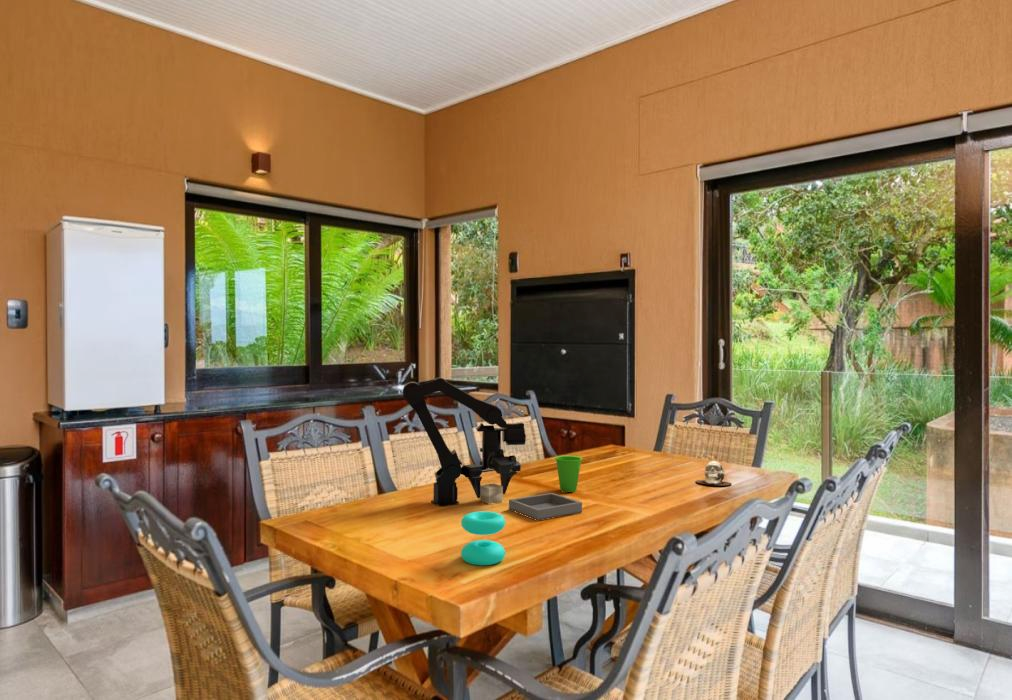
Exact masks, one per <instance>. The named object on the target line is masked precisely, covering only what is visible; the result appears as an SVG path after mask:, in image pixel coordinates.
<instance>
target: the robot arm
mask: <svg viewBox="0 0 1012 700" xmlns="http://www.w3.org/2000/svg"><path fill="white" fill-rule="evenodd" d="M437 392H440V393H442V394H444V395H446V396H447V397H449V398H451V399H453V400H454V401H457V402H458V403H459V404H461V405H463V406H465V407H467V408H468V409H470V410H471V411H473V412H474V413H475V414H476V415H478V417H479V418H481V419H482V420H483V421H484V422H486V423H487V424H488V425H487V424H486V425H485V424H484V423H483V422H481V423H480V424H479V425H478V426H477V427H476V428H475V430H476V431H477V432H482V438H481V439H482V440H481V441H482V442H481V444H482V447H480V448H479V452H481V453H482V455H481V457H482V458H481V459H482V460H480V461H479V465H478V464H477V465H476V464H473V463H471V464H463V461H461V459H460V458H459V455H458V453H457V451H456V449H453V450H450V448H449V447H448V446H447V444H446V442H445V440H444V438H443V436H442V434H441V432H440V430H439V427H438V426H437V424H436V422H435V420H434V418H433V416H432V414H431V412H430V410H429V408H428V405H427V401H426V400H425V399H426V398H425V396H429V395H431V394H434V393H437ZM402 396H403V398H404V399H405V400H406V402H407V403H408V404H409V406H410V407H411V409H412V410H413V411H414V412H415V413H416V415H417V416H418V419H419V421H420V423H421V425H422V426H423V429H424V430H425V432H426V435H427V436H428V438H429V440H430V443H431V445H432V446H433V448H434V449H435V452H436V453H437V457H438V460H439V463H440V468H439V469H438V470H437V471H436V472H435V473H434V477H435V481H436V482H434V483H433V499H431V500H430V502H431V504H435V505H436V506H439V507H446V506H452V505H457V504H460V502H459V501H458V495H459V494H458V489H459V488H458V486H457V482H456V480H457V479H458V478H460V476H461V475H462V476H464V478H467V479H468V480H469V482H470V484H471V486H472V489H473V491H474V494H475V496H476V498H477V499H480V485H481V482H482V479H483V476H481V475H482V474H483V473H488V472H496V474H499V476H500V486H503V495H506V493H507V490H508V487H509V484H510V483H511V482H510V481H511V480H512V479H513V477H514V476H515V475H517V474H518V472H522V471H521V470H522V466H521V465H522V464H521V462H520V461H517V456H515V455H514V454H513V455H508V456H506V455H505V454H504V453H505V452H504V449H503V448H502V447H501V446H502V443H505V445H506V446H525V445H526V441H527V439H526V438H527V434H526V430H525V424H524V423H523V422H517V423H507V421H506V420H505V419H504V418H503V412H502V409H501V408H499V407H498V406H497V405H495V404H493V403H491V402H487V401H485V400H481V399H479V398H476V397H475V396H473V395H472V394H469V393H467V392H466V391H464V390H462V389H460V388H459V387H457V386H455V385H454V384H452V383H450V382H448V381H447V380H445V379H444V378H443V377H441V376H439V377H435V378H433V379H430V380H429V379H428V380H425V381H420V382H416V381H408V382H407V383H405V384H404V386H403V387H402ZM494 425H496V426H498V427H495V426H494ZM499 427H500V428H499ZM461 465H462V466H461Z"/></svg>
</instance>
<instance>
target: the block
mask: <svg viewBox="0 0 1012 700" xmlns="http://www.w3.org/2000/svg"><path fill="white" fill-rule="evenodd" d="M503 497H504V494H503V486H501V484H498V483H486V484H480V498H479V501H480V502H481V501H483V502H482V503H484V502H486V503H488V504H487V505H489V504H490V505H492V504H491V503H496V504H498V503H497V502H502V501H503V499H504V498H503ZM486 503H485V504H486ZM502 503H503V502H502Z"/></svg>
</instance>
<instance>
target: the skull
mask: <svg viewBox="0 0 1012 700" xmlns="http://www.w3.org/2000/svg"><path fill="white" fill-rule="evenodd" d="M704 469H705V470H704V476H705V479H696V480H695V482H696V483H698V484H704V485H709V486H731V485H732V482H728V481H724V478H725V468H724V467H723V466H722V464H721V463H720V462H717V461H715V460H712V461H710V462H708V463H707V464H706V465H705V467H704Z"/></svg>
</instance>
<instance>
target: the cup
mask: <svg viewBox="0 0 1012 700" xmlns="http://www.w3.org/2000/svg"><path fill="white" fill-rule="evenodd" d="M554 459H555V462H556V469H557V476H558V481H559V489H560V491H563V492H562V493H565V492H573V493H576V492H575V491H577V488H578V481H579V478H580V477H579V476H580V469H581V465H582V464H581V463H582V460H583V457H582V456H576V455H557V456H555V457H554Z"/></svg>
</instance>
